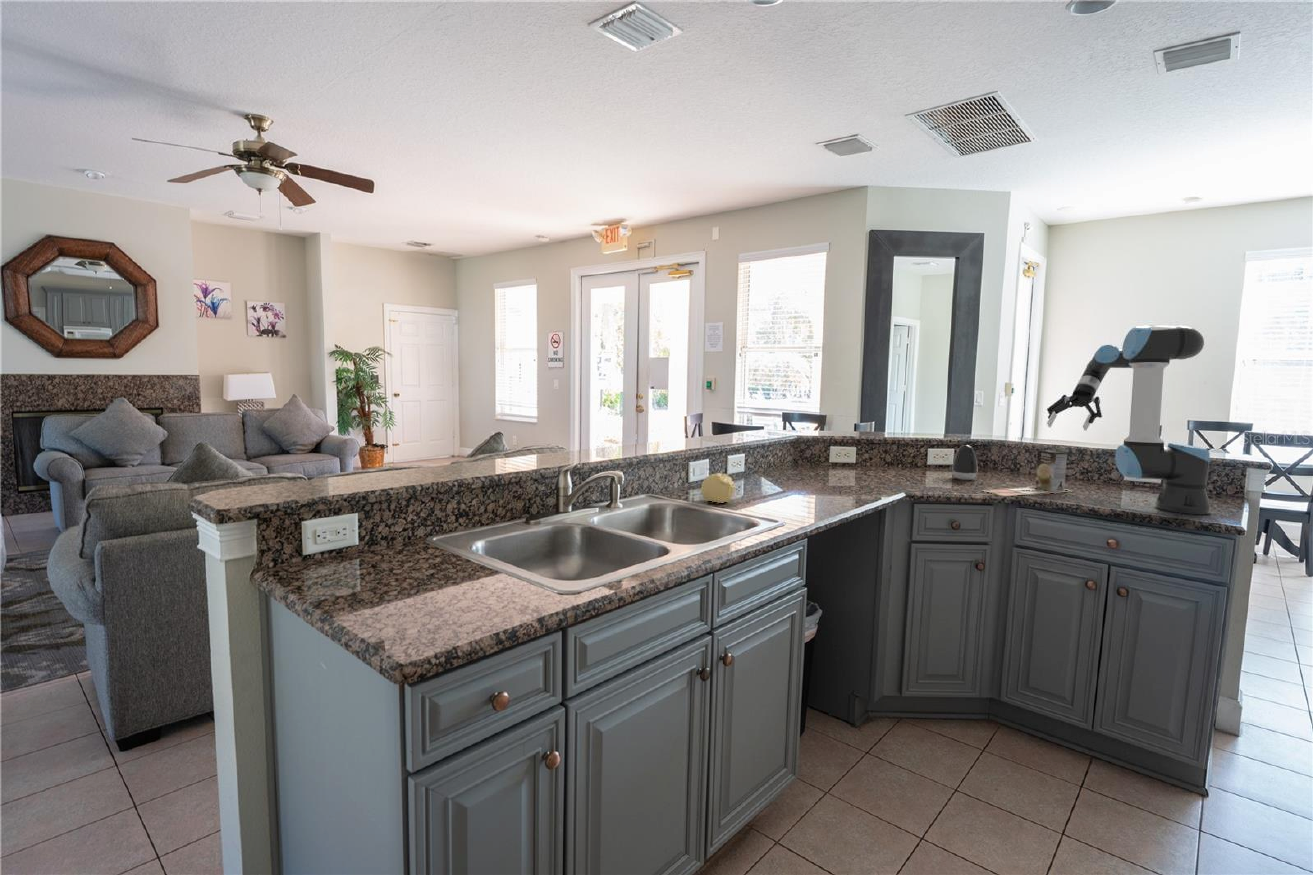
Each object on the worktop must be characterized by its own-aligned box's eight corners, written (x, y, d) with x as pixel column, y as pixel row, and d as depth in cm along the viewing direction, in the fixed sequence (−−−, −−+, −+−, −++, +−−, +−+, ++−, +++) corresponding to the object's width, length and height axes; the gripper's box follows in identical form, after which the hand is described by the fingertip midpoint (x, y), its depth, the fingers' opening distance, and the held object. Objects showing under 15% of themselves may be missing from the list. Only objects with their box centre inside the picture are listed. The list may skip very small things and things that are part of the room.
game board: (1073, 492, 262) (1073, 490, 262) (1005, 497, 250) (1005, 495, 250) (1047, 486, 273) (1047, 485, 272) (981, 491, 261) (981, 490, 261)
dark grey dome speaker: (972, 477, 292) (975, 443, 290) (980, 481, 282) (982, 446, 280) (948, 476, 294) (950, 443, 292) (954, 480, 284) (957, 446, 282)
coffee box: (1033, 488, 269) (1036, 449, 267) (1046, 487, 270) (1049, 449, 268) (1051, 492, 260) (1055, 452, 258) (1065, 492, 262) (1068, 452, 260)
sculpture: (733, 506, 230) (734, 476, 229) (699, 504, 232) (699, 474, 231) (735, 499, 241) (736, 470, 240) (702, 498, 243) (703, 469, 242)
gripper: (1122, 397, 266) (1102, 435, 260) (1056, 393, 287) (1037, 429, 280) (1118, 384, 263) (1098, 423, 256) (1052, 381, 283) (1032, 417, 276)
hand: (1066, 426), depth 268 cm, fingers open, 13 cm apart
